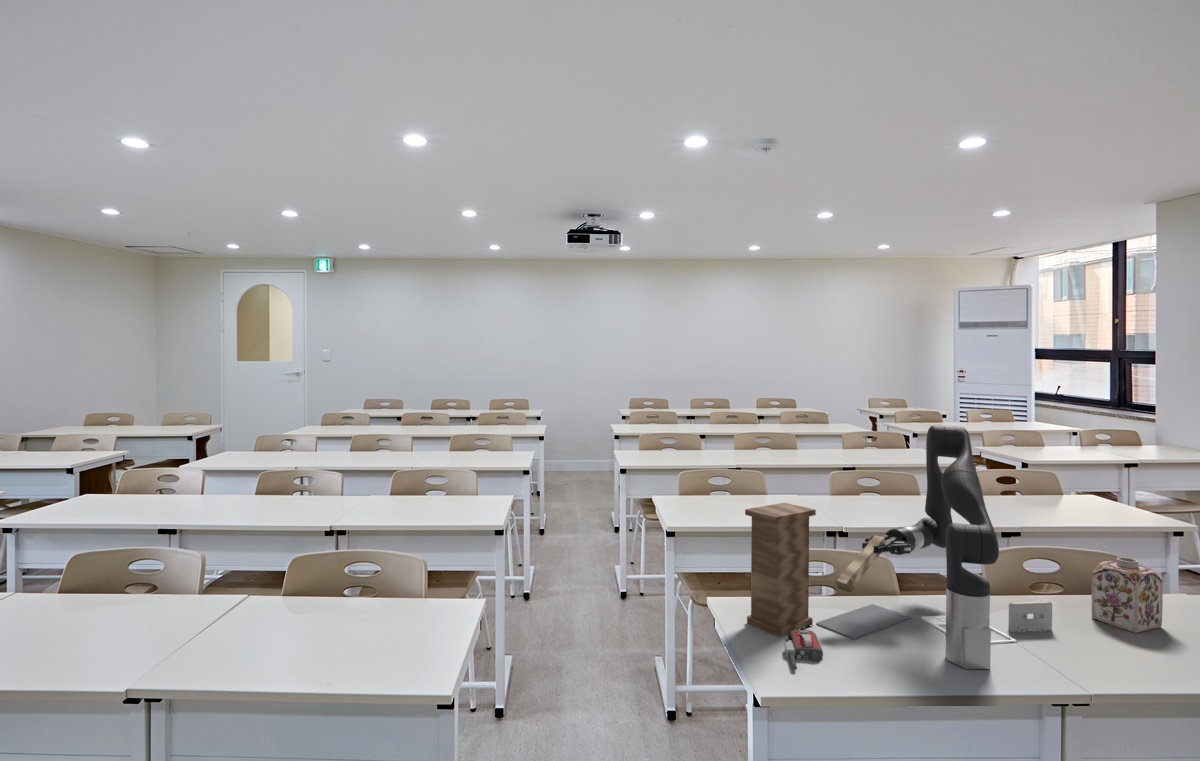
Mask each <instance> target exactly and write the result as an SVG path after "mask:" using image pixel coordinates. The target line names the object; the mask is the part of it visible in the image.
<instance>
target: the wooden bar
mask: <svg viewBox="0 0 1200 761" xmlns="http://www.w3.org/2000/svg"><path fill="white" fill-rule="evenodd" d="M873 536H874V537H873V538H872V539H871V540H870V541H869V543H868V544H867V545H866V546H865V547H864V548H863V549H861V551H860V552H859V553H858V554H857V556H855V558H854V559H853V560H852V561H851V563H849V565H848V566H847V567H846V568H845V569H844V571H843V572H842V573H841V574H840V575H838V576H836V578H835V579H834V582H835V584H836V587H837V589H838V590H842V591H843V592H847V593H852V591H853V590H855V586H856V585H857V583H858V582H859V581H860V580H861V579H862V577H863V576H864V575H865V573H866V572H867V571H868V570H869V568H870V567H871V566H872V565H873V564H874V562H875V561H876V560H877V559H878V558H879V556H880V555H882V553H878V554H875V553H874V546H875V545H879V544H883V543H886V541H885V539H884V537H882V536H879V535H875V534H874V535H873Z"/></svg>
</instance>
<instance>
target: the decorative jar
mask: <svg viewBox="0 0 1200 761" xmlns="http://www.w3.org/2000/svg"><path fill="white" fill-rule="evenodd" d="M1091 576H1092V577H1091V619H1092V618H1094V619H1093V620H1095V619H1097V620H1096V621H1098V620H1099V622H1101V621H1102V623H1104V622H1105V623H1104V624H1107V623H1108V624H1107V625H1110V626H1114V627H1116V628H1119V629H1121V630H1125V631H1127V632H1131V633H1134V634H1138V633H1142V632H1143V633H1144V632H1147V631H1151V630H1155V629H1160V628H1161V627H1162V625H1163V603H1164V601H1163V600H1164V598H1163V579H1162V578H1161V576H1159V574H1158V573H1157V572H1155V571H1154V570H1153V569H1152V568H1150V567H1148V566H1144V565H1140V564H1139V560H1137V559H1136V558H1133V557H1132V558H1131V557H1125V556H1124V557H1123V556H1122V557H1117V558H1116V560H1107V561H1106V560H1105V561H1101V562H1099V564H1098V566H1097V567H1095V569H1094V570H1093V571H1092V575H1091Z"/></svg>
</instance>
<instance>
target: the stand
mask: <svg viewBox="0 0 1200 761" xmlns="http://www.w3.org/2000/svg"><path fill="white" fill-rule="evenodd" d="M744 510H745V511H744V515H745V516H749V517H751V542H750V543H751V544H750V545H751V551H750V552H751V557H750V558H751V559H750V560H751V562H750V563H751V570H750V573H751V574H750V576H751V577H750V578H751V581H750V583H751V584H750V587H751V589H750V590H751V591H750V594H751V595H750V596H751V597H750V615H747V616H746V623H747V624H748V625H750V626H751V627H754V628H757V629H759V630H761V631H763V632H766V633H768V634H770V635H772V636H775V637H776V638H778V637H779V638H780V637H781V636H785V634H786V635H788V633H790V632H791V631H792V630H799V629H800V630H802V629H801V628H803V629H805V628H804V627H806V628H808V627H807V626H809V627H811V626H810V625H812V626H813V624H814V623H813V617H811V616H809V605H810V604H809V601H810V600H809V593H810V590H809V588H810V587H809V585H810V583H809V582H810V581H809V579H810V578H809V577H810V576H809V575H810V574H809V573H810V572H809V571H810V564H809V563H810V517H812V516H813V517H814V516H816V515H817V514H816V513H817V510H816V509H814V508H810V507H807V506H806V507H805V506H801V505H795V504H792V503H788V502H787V503H786V502H780V503H774V504H770V505H769V504H768V505H763V506H758V507H751V508H747V509H744Z"/></svg>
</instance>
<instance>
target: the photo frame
mask: <svg viewBox="0 0 1200 761" xmlns="http://www.w3.org/2000/svg"><path fill="white" fill-rule="evenodd" d="M920 617H921V618H920V619H921V620H922V621H924V622H926V623H928V624H929V625H931V626H933V627H934V628H936V629H937V630H940V631H941V632H943V633H944V634H946V628H945V629H944V628H943V627H941V626H946V614H945V615H933V616H932V615H931V616H929V615H927V616H920ZM989 629H990V630H991V631H993V632H994V633H996V634H999V635H1000V636H1002V637H1004V638H1006V639H998V640H991V645H994V644H995V645H996V644H997V643H999V644H1008V643H1007V642H1014V643H1017V642H1018V641H1017V640H1018V639H1015V638H1013V637H1011V636H1010V635H1008V634H1006V633H1004V632H1002V631H1000V630H999V629H997V628H995V627H993V626H991V625H989ZM1007 638H1008V639H1007ZM1009 639H1010V640H1009Z"/></svg>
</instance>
